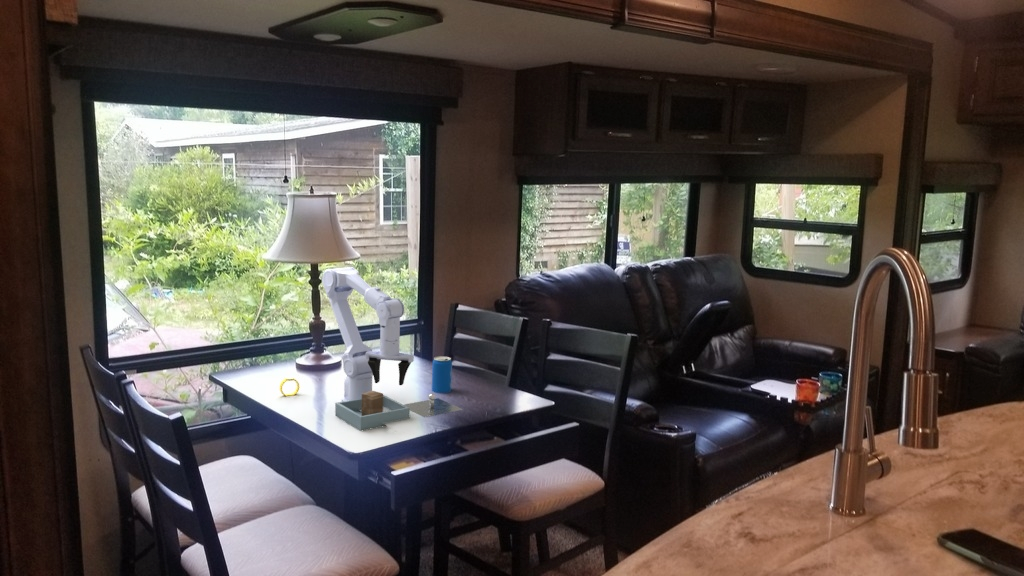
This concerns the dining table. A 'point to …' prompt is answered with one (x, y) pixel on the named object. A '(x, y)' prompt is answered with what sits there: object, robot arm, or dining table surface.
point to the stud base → (432, 407)
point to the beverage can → (441, 374)
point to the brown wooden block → (372, 403)
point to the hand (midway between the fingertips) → (389, 383)
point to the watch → (289, 380)
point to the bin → (354, 416)
